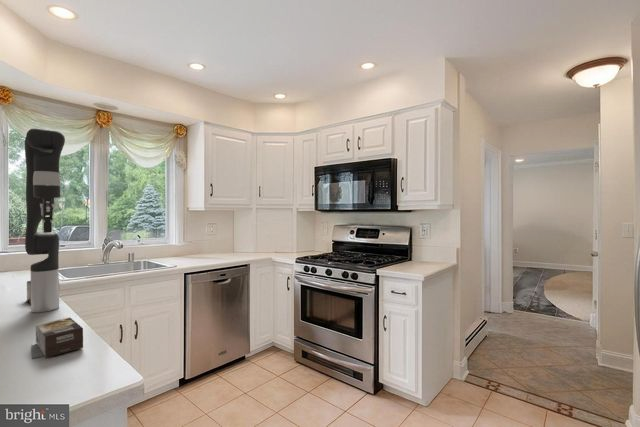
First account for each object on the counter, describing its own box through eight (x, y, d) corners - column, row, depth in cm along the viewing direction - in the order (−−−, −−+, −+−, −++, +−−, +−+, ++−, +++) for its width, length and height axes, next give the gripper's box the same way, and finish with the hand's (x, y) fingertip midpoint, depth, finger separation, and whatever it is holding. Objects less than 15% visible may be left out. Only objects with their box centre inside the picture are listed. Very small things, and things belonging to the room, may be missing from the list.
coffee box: (70, 316, 108) (84, 327, 98) (70, 335, 108) (84, 348, 98) (35, 323, 101) (45, 336, 91) (35, 343, 101) (45, 358, 91)
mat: (31, 346, 100) (31, 345, 100) (71, 337, 107) (71, 336, 107) (32, 359, 92) (32, 357, 92) (75, 348, 98) (75, 347, 98)
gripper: (32, 185, 118) (33, 232, 118) (33, 183, 108) (34, 233, 108) (58, 186, 123) (59, 231, 123) (61, 184, 113) (62, 232, 114)
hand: (47, 232), depth 116 cm, fingers closed
